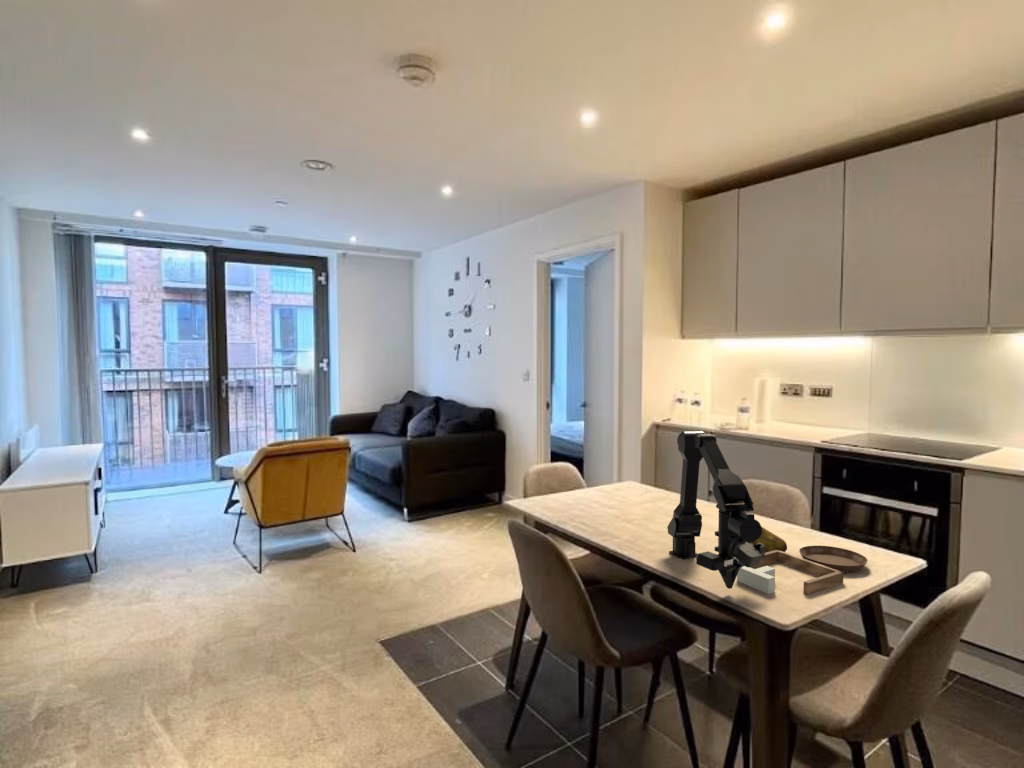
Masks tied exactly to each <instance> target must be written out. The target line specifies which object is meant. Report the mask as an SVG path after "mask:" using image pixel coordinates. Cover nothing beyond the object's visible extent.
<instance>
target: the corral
mask: <svg viewBox="0 0 1024 768" xmlns="http://www.w3.org/2000/svg"><path fill="white" fill-rule="evenodd" d="M777 562H779V563H782V564H785V565H788V566H790V567H791V568H792V567H793V568H795V569H798V570H800V571H803V572H806V573H809V574H812V575H814V576H818V577H814V578H812V579H811V578H810V579H809V580H805V581H803V591H802V593H803V594H806V595H811V594H813V593H817V592H820V591H823V590H825V589H829V588H832V587H835V586H838V585H842V584H844V572H841V571H838V570H835V569H832V568H829V567H827V566H824V565H821V564H818V563H815V562H812V561H809V560H806V559H804V558H803V557H800V556H797V555H794V554H790V553H788V552H786V551H785V552H783V551H780V550H774V551H770V552H766V553H765V558H763V559H761V560H760V563H759V565H755V566H752V567H750V568H753V569H756V568H760V567H764V566H767V565H770V564H773V563H777Z"/></svg>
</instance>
